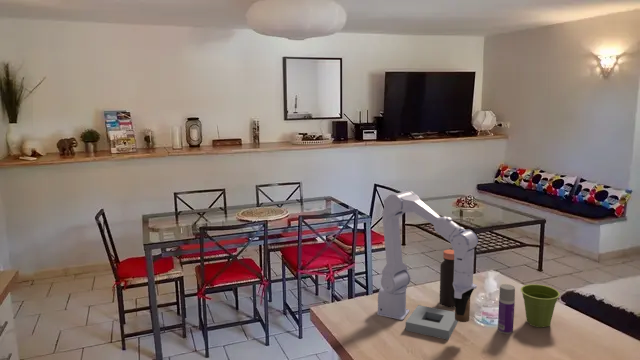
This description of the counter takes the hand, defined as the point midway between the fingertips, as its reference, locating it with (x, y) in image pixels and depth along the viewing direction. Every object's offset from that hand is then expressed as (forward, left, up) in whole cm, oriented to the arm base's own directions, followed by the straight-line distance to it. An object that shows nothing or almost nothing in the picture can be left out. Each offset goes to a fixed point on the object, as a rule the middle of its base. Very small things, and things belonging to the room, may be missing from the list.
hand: (462, 311), depth 149 cm
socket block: (-10, +5, -9) cm, 15 cm away
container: (+12, +12, -10) cm, 19 cm away
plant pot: (+21, +22, -10) cm, 31 cm away
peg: (0, 0, -2) cm, 3 cm away
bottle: (-9, +24, -10) cm, 27 cm away
